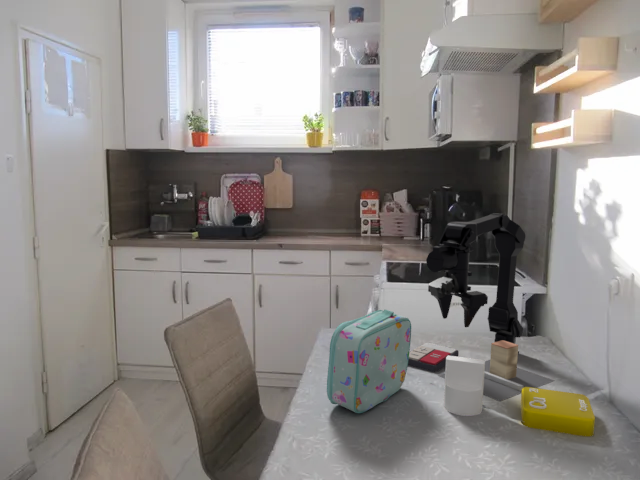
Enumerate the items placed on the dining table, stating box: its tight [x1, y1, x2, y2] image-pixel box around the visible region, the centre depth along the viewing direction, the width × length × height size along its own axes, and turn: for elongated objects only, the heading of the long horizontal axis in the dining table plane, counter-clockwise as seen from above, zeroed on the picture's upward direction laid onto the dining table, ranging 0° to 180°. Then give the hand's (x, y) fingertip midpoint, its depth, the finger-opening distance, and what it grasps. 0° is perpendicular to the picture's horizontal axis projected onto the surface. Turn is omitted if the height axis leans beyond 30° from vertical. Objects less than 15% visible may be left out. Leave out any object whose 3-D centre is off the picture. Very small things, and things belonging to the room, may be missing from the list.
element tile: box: [520, 387, 596, 438], centre depth 130 cm, size 15×15×5 cm
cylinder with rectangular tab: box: [443, 355, 486, 417], centre depth 134 cm, size 9×9×12 cm
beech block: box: [489, 340, 519, 380], centre depth 153 cm, size 5×5×9 cm
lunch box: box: [326, 309, 412, 414], centre depth 138 cm, size 27×10×21 cm, turn 144°
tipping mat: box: [437, 359, 556, 402], centre depth 152 cm, size 24×20×2 cm
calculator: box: [408, 342, 460, 373], centre depth 164 cm, size 11×4×15 cm
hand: (455, 322), depth 157 cm, fingers open, 9 cm apart
